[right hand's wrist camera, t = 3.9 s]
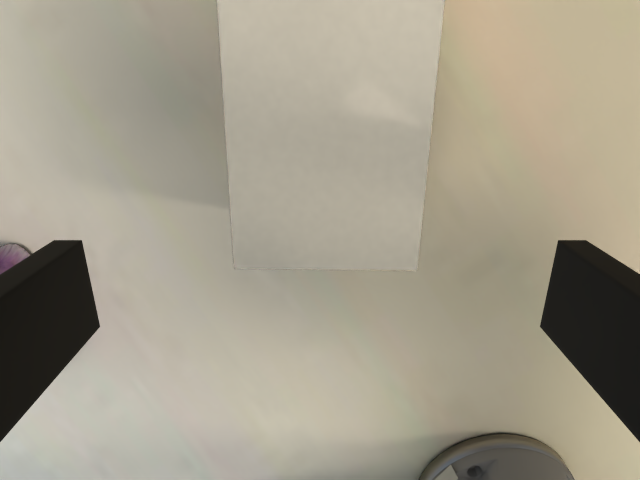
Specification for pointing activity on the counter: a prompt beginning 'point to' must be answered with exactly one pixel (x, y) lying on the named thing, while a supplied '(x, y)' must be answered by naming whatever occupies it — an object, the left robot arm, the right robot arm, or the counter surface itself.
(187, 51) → the counter surface
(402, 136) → the cabinet
